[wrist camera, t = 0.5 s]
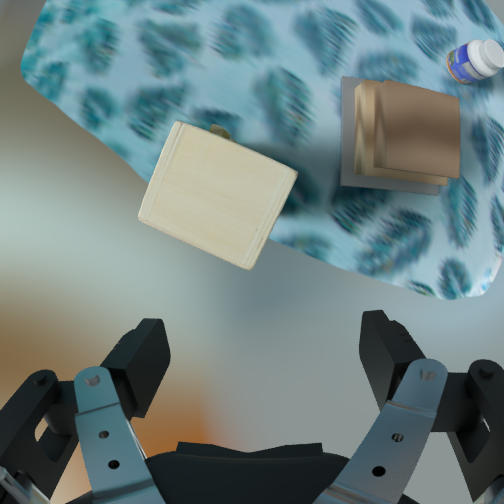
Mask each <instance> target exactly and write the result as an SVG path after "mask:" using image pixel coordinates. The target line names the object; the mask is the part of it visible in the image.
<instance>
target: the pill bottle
mask: <svg viewBox="0 0 504 504" xmlns="http://www.w3.org/2000/svg"><path fill="white" fill-rule="evenodd" d="M446 66H447V69H448V71H449V73H450V74H451V76H452V77H453V78H454V79H455V80H456V81H458V82H459V83H462V84H469V83H472V82H475V81H478V80H481V79H485V78H488V77H491V76H494V75H496V74H497V72H498V69H501V68H503V67H504V51H503V49H502V48H501V46H500V45H499V44H498V43H497V42H495V41H494V40H491V39H488V40H485V41H482V40H473V41H470V42H468V43H467V44H465V45H463V46H461V47H459V48H457V49H455V50H453V51H451V52H450V53H449V54H448V55H447V57H446Z"/></svg>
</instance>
